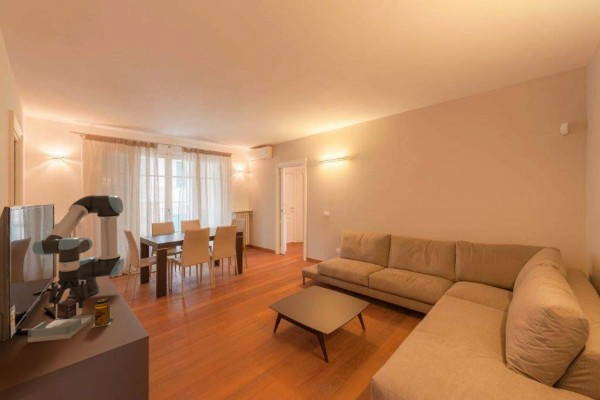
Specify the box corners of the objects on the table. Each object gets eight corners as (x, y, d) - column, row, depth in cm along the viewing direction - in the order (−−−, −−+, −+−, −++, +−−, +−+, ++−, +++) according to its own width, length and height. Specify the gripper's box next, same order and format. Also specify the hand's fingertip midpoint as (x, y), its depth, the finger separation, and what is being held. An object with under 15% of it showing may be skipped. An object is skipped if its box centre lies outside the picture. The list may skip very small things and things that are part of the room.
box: (66, 319, 117) (66, 304, 117) (56, 318, 118) (56, 303, 118) (80, 314, 123) (80, 299, 123) (70, 312, 124) (70, 298, 124)
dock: (56, 322, 123) (56, 313, 123) (92, 319, 127) (92, 310, 127) (27, 342, 107) (28, 330, 107) (69, 338, 110) (70, 327, 110)
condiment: (91, 328, 119) (91, 303, 119) (97, 320, 127) (97, 297, 127) (109, 325, 122) (109, 301, 122) (114, 317, 130) (114, 294, 130)
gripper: (37, 272, 114) (37, 321, 115) (88, 270, 119) (88, 317, 119) (50, 268, 122) (49, 313, 122) (97, 266, 126) (97, 310, 126)
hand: (68, 315), depth 120 cm, fingers closed on box, 8 cm apart
